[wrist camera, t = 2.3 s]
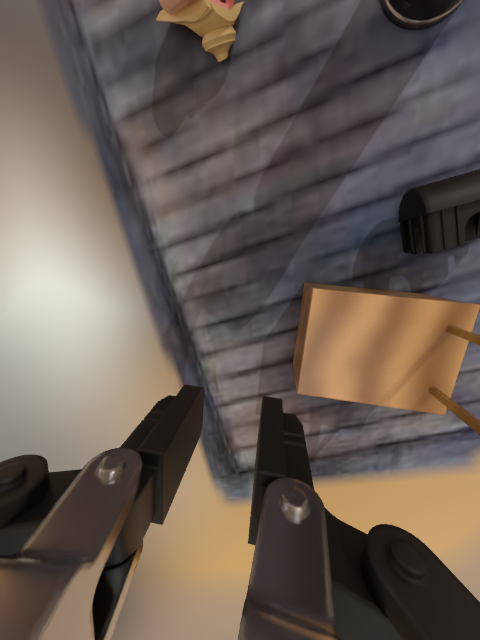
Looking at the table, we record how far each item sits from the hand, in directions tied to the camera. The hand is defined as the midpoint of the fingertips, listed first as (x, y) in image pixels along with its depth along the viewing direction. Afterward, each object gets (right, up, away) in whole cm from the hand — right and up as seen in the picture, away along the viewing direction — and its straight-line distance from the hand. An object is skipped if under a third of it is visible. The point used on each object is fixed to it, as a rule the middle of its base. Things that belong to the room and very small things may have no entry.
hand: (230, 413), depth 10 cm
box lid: (+16, 0, +18) cm, 24 cm away
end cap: (+25, +16, +21) cm, 37 cm away
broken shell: (-4, +39, +20) cm, 44 cm away
